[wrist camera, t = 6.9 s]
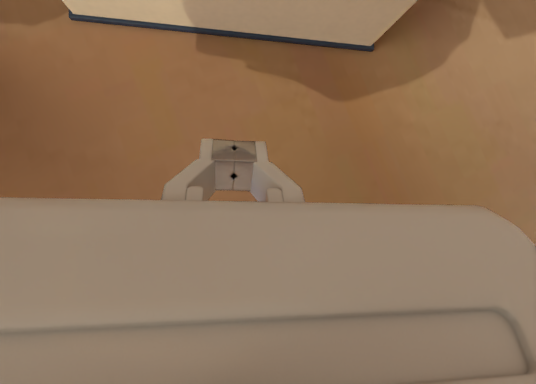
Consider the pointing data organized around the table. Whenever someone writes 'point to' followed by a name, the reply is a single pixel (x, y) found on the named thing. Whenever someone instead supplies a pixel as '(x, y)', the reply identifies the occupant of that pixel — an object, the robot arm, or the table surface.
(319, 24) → the dictionary
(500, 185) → the table surface
